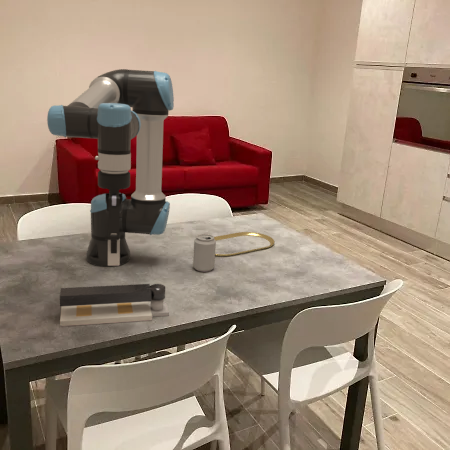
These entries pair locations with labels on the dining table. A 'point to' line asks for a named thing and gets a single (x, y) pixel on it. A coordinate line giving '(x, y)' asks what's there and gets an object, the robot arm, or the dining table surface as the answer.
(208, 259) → the can
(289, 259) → the dining table surface
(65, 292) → the swing arm
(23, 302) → the dining table surface
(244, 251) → the curved rod
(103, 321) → the panel
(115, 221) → the robot arm
